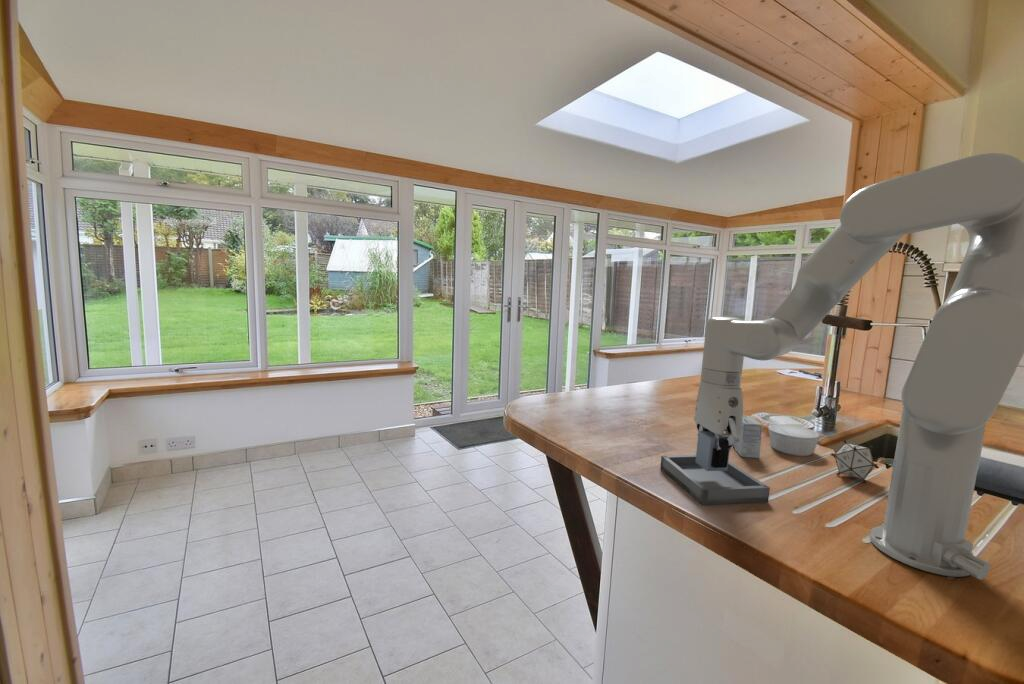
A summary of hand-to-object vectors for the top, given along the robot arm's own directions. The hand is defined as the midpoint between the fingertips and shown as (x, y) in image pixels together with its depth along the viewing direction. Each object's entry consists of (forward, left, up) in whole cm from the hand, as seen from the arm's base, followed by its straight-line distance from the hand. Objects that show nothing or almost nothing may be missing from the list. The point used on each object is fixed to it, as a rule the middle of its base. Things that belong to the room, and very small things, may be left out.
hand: (711, 460), depth 96 cm
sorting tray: (0, 0, -5) cm, 5 cm away
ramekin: (+17, -34, -5) cm, 39 cm away
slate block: (0, 0, -1) cm, 1 cm away
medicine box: (+16, -20, -5) cm, 26 cm away
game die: (0, -35, -5) cm, 35 cm away
